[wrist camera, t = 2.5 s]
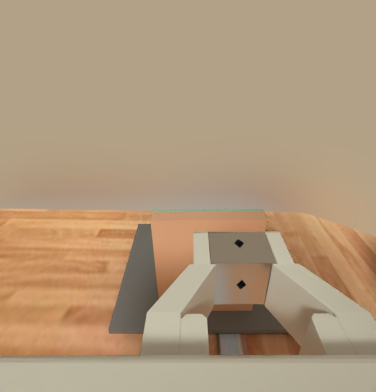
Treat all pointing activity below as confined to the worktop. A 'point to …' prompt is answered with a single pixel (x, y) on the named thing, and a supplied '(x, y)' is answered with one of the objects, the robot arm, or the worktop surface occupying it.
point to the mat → (148, 295)
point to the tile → (183, 240)
